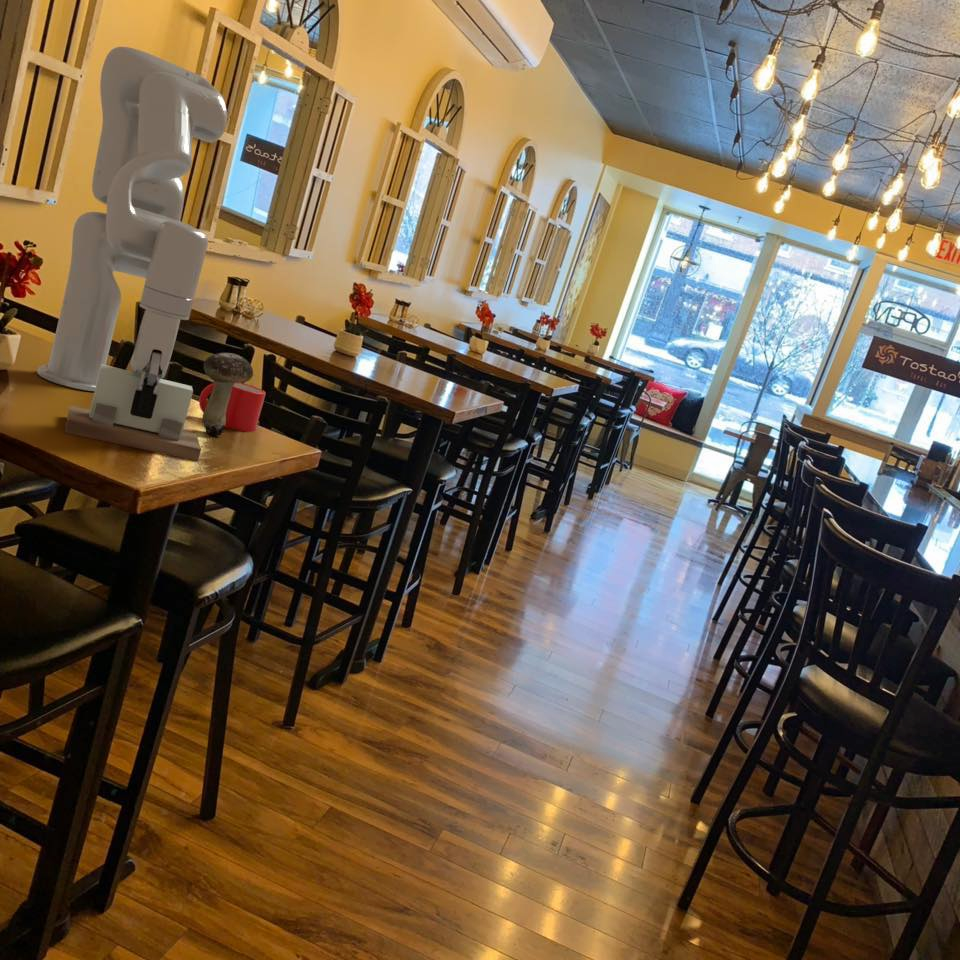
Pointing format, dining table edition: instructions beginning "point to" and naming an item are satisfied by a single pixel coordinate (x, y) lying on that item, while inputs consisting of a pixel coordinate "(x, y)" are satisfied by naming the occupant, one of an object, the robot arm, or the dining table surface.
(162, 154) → the robot arm
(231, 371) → the mushroom
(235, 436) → the dining table surface
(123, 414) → the pale grey rectangular block
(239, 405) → the mug
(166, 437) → the board
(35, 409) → the dining table surface
